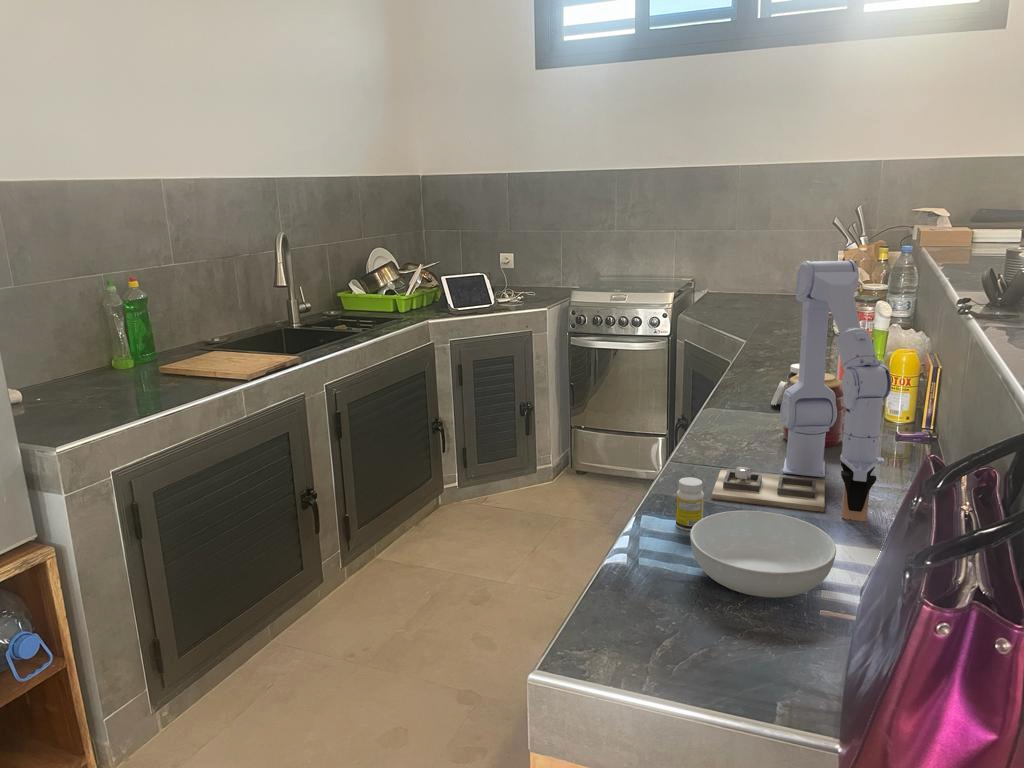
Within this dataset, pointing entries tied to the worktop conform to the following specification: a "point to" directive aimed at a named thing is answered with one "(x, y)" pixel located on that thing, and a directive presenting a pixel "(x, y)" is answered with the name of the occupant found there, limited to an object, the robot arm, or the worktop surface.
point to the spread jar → (782, 384)
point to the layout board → (772, 491)
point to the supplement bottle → (689, 503)
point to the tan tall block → (853, 514)
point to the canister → (834, 384)
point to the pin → (743, 475)
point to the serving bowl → (762, 552)
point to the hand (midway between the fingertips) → (854, 505)
